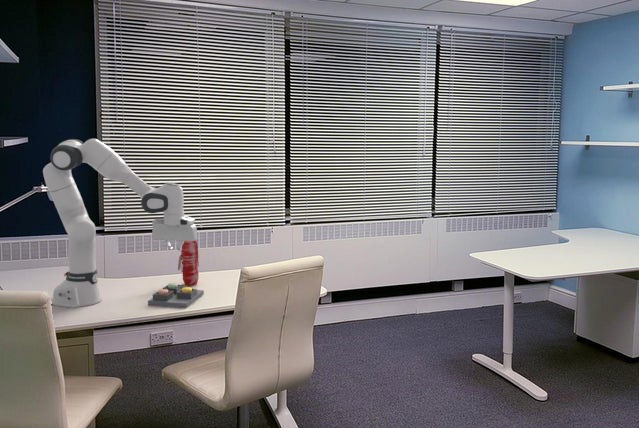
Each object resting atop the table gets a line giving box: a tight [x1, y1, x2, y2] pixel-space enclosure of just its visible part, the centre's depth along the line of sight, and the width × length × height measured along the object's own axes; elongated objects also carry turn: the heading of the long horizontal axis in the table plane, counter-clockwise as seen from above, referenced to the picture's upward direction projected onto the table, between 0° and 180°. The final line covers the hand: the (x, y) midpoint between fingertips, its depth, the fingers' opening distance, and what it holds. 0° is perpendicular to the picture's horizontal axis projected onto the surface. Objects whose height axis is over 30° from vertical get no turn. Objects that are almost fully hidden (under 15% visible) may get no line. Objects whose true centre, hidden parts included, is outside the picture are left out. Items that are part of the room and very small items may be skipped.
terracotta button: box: [157, 288, 168, 295], centre depth 263 cm, size 4×4×2 cm
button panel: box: [147, 284, 205, 309], centre depth 268 cm, size 18×20×4 cm
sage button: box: [167, 282, 179, 288], centre depth 273 cm, size 4×4×2 cm
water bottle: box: [177, 240, 200, 286], centre depth 291 cm, size 12×8×25 cm, turn 72°
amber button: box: [182, 286, 193, 293], centre depth 266 cm, size 4×4×2 cm
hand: (175, 249), depth 264 cm, fingers open, 3 cm apart
